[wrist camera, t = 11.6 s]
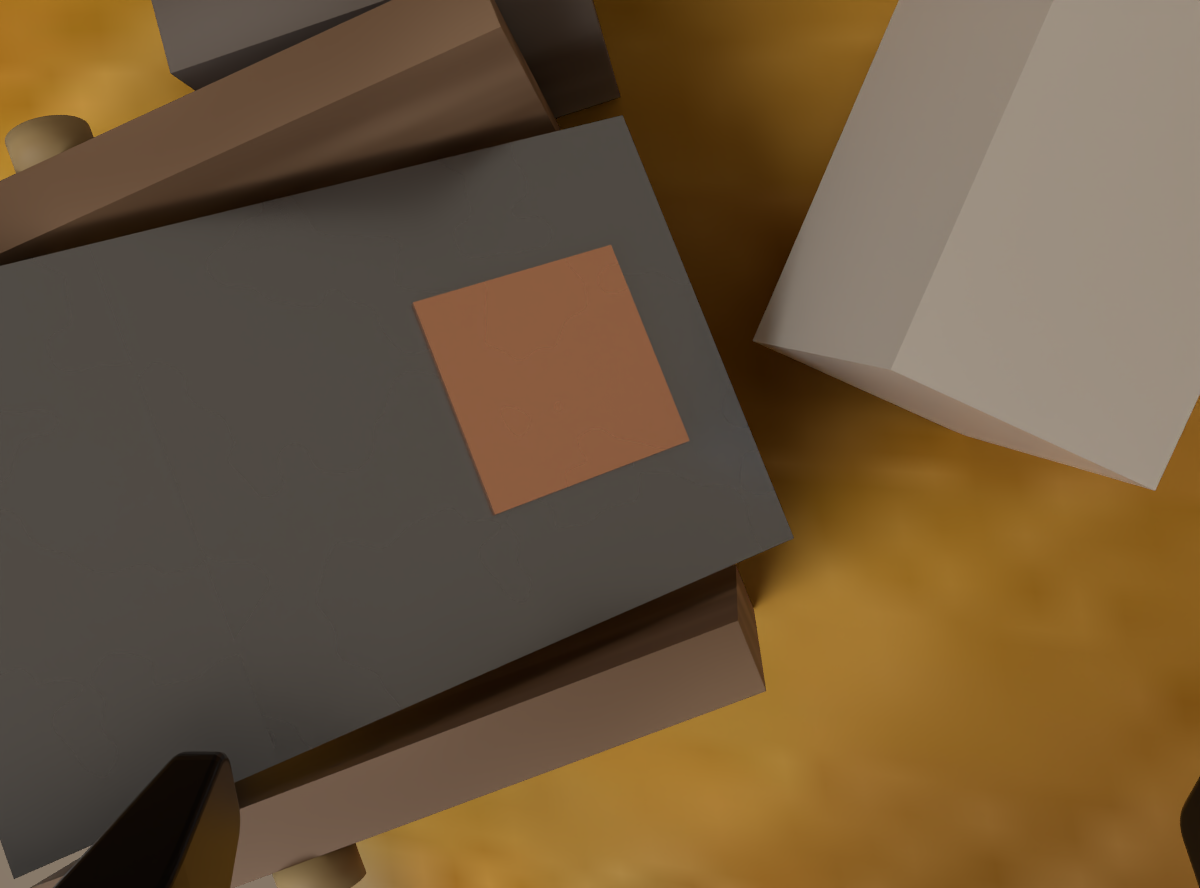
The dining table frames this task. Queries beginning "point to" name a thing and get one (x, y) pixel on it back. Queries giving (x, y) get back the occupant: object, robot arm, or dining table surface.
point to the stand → (317, 3)
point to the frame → (325, 158)
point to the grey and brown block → (343, 463)
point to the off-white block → (1015, 230)
